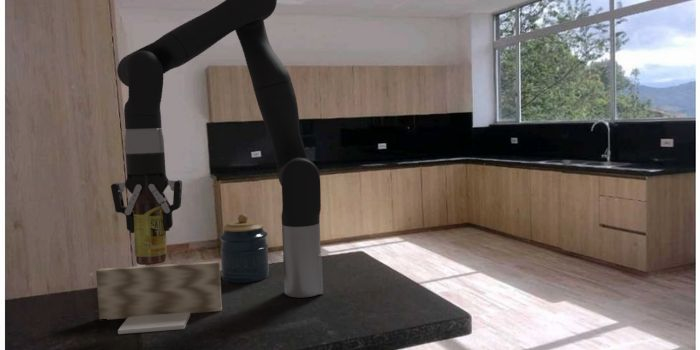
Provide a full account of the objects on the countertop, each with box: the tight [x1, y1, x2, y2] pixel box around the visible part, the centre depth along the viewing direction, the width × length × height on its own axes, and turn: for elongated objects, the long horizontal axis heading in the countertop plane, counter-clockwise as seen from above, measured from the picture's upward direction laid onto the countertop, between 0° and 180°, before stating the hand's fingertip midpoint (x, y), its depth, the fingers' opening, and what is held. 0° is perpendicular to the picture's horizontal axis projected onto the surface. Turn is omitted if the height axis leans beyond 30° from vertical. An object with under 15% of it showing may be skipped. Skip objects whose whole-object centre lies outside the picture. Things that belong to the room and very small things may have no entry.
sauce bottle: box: [133, 175, 168, 266], centre depth 112 cm, size 7×6×20 cm
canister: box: [219, 213, 270, 284], centre depth 148 cm, size 13×13×18 cm
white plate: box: [117, 312, 191, 335], centre depth 113 cm, size 13×8×1 cm, turn 98°
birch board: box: [95, 260, 223, 320], centre depth 119 cm, size 26×2×11 cm, turn 98°
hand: (150, 231), depth 112 cm, fingers closed on sauce bottle, 6 cm apart
